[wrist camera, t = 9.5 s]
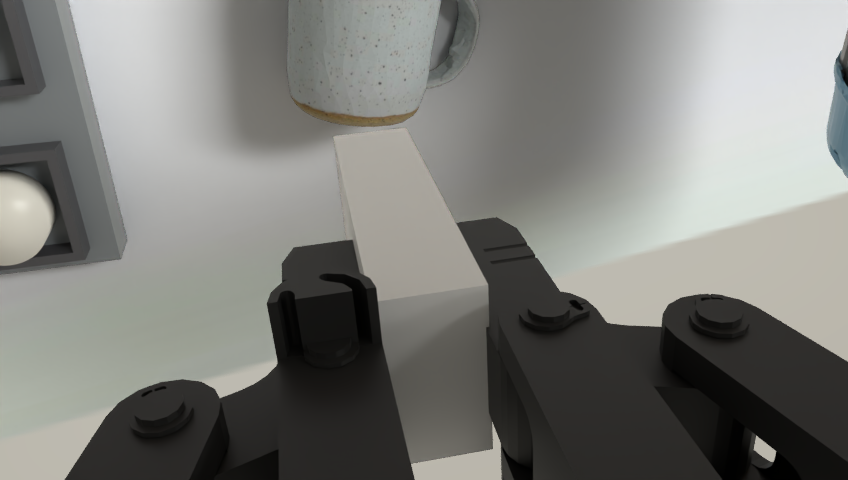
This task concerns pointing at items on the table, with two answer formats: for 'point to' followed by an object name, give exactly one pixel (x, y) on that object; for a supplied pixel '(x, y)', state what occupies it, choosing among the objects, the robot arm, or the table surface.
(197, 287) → the table surface
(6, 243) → the button
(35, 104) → the button board
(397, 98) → the ceramic mug
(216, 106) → the table surface
